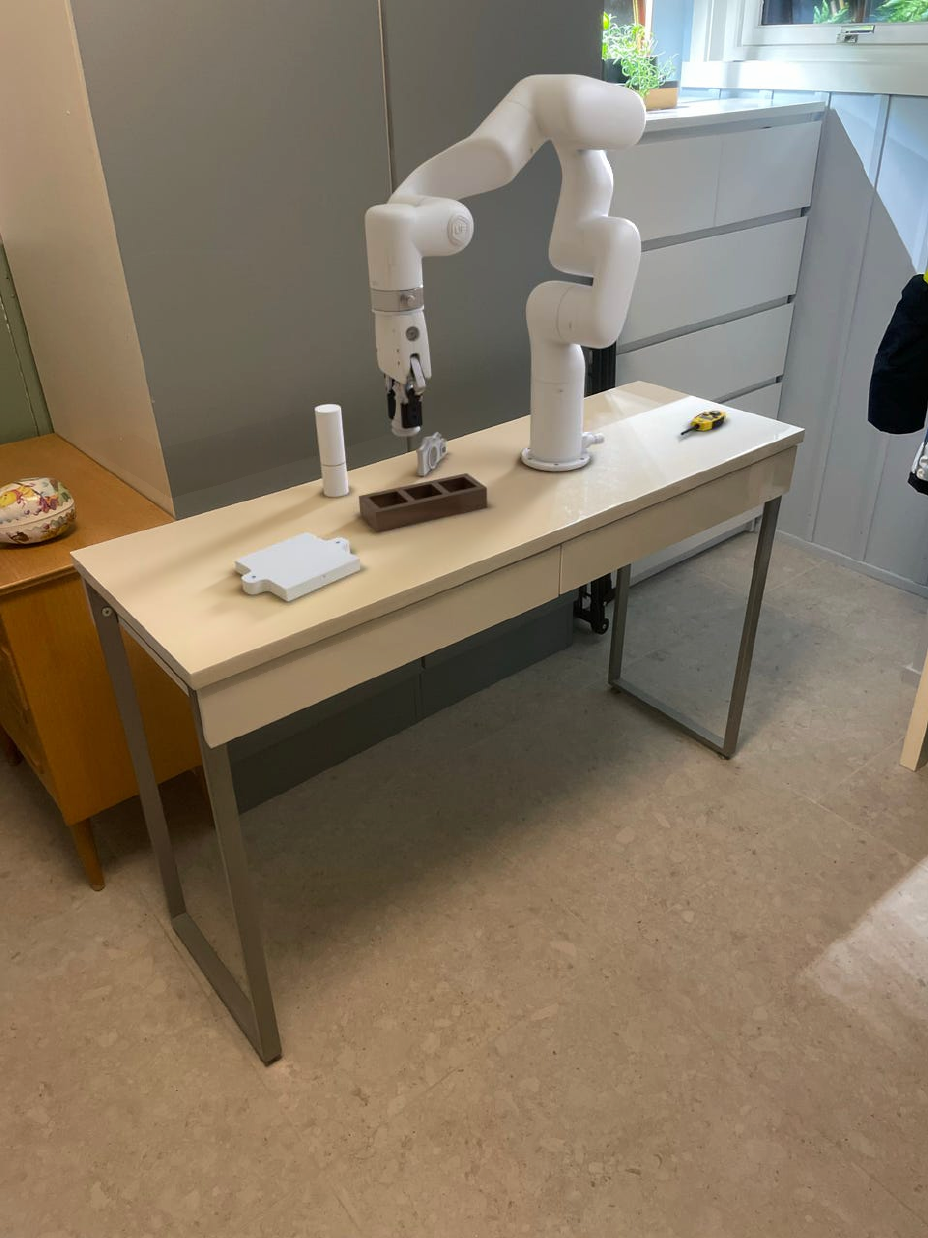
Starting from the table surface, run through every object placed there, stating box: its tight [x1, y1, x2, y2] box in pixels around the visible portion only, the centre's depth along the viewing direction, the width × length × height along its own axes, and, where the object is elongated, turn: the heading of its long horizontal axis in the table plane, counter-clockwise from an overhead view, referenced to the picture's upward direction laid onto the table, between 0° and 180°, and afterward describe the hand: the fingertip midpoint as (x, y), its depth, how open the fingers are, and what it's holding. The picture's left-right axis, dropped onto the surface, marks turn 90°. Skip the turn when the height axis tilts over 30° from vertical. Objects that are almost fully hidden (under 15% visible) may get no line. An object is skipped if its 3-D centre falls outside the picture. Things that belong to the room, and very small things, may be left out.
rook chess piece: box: [391, 378, 421, 438], centre depth 141 cm, size 4×4×8 cm
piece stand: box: [358, 472, 488, 533], centre depth 153 cm, size 7×20×4 cm, turn 117°
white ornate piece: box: [415, 431, 448, 477], centre depth 170 cm, size 12×2×6 cm, turn 161°
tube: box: [314, 403, 349, 498], centre depth 158 cm, size 4×4×15 cm
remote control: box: [680, 409, 727, 436], centre depth 185 cm, size 5×2×15 cm
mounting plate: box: [234, 531, 361, 602], centre depth 136 cm, size 18×13×2 cm
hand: (405, 420), depth 142 cm, fingers closed on rook chess piece, 4 cm apart
